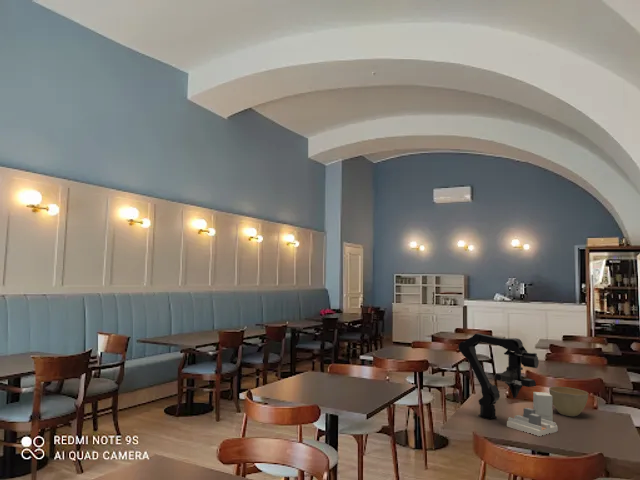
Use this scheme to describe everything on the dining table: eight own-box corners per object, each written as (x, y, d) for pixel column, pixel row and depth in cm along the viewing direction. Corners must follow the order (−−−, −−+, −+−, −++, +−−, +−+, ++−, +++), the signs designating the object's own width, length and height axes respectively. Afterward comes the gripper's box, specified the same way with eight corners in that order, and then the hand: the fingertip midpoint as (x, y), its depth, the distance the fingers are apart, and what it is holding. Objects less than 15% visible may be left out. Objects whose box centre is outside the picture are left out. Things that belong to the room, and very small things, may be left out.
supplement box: (552, 422, 231) (552, 396, 232) (536, 421, 232) (536, 394, 233) (548, 418, 238) (548, 392, 239) (533, 416, 239) (533, 391, 240)
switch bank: (506, 426, 222) (506, 417, 222) (525, 421, 230) (525, 413, 231) (539, 436, 209) (539, 427, 209) (557, 431, 217) (557, 422, 217)
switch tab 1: (523, 418, 225) (523, 408, 226) (527, 417, 227) (527, 407, 227) (531, 421, 222) (531, 410, 222) (535, 420, 224) (535, 409, 224)
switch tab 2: (528, 425, 216) (528, 414, 216) (532, 424, 217) (532, 413, 218) (536, 427, 212) (536, 416, 213) (540, 426, 214) (540, 415, 214)
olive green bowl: (588, 421, 234) (588, 396, 235) (547, 415, 243) (547, 391, 244) (588, 413, 250) (588, 389, 251) (550, 407, 259) (550, 384, 260)
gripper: (487, 362, 232) (487, 395, 231) (522, 369, 217) (522, 404, 216) (501, 361, 238) (501, 392, 237) (536, 368, 223) (536, 401, 222)
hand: (514, 397), depth 228 cm, fingers closed
